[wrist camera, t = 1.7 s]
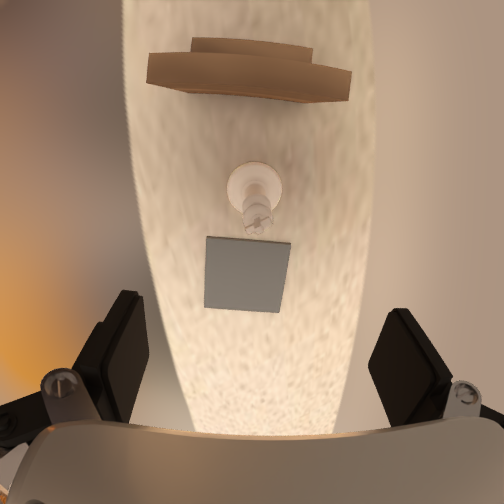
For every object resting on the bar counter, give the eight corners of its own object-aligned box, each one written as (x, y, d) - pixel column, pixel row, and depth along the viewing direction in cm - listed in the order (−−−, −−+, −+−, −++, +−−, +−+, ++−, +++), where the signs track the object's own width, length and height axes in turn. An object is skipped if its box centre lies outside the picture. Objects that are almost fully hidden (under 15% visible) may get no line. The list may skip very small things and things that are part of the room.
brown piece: (193, 39, 22) (157, -5, 11) (310, 50, 22) (357, 13, 12) (188, 92, 24) (146, 83, 13) (304, 103, 25) (348, 101, 14)
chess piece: (290, 200, 29) (312, 246, 20) (242, 223, 29) (241, 278, 20) (267, 152, 27) (279, 176, 18) (217, 177, 27) (202, 213, 18)
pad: (206, 236, 30) (206, 237, 30) (290, 243, 30) (291, 245, 30) (204, 305, 33) (204, 307, 33) (278, 310, 34) (279, 312, 33)
